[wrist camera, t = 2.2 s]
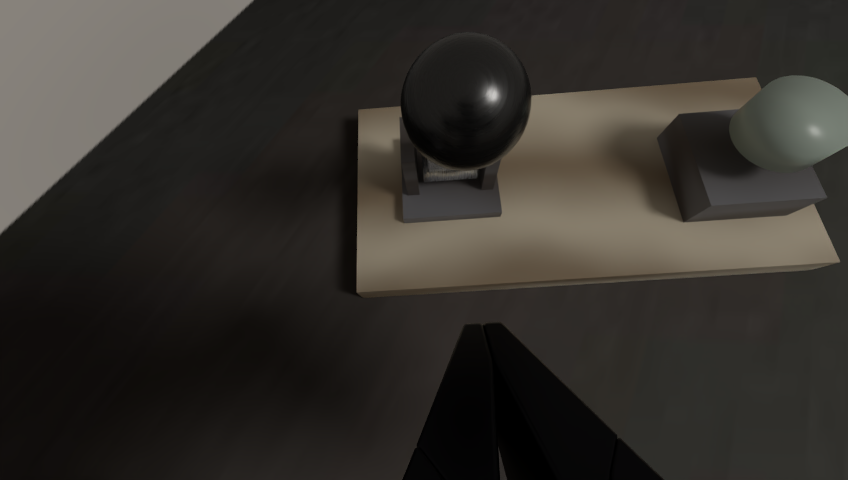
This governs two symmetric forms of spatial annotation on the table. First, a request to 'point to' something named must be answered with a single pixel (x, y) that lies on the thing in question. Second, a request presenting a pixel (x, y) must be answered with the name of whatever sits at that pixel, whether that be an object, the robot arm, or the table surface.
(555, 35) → the table surface
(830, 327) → the table surface
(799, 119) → the push button
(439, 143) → the toggle lever
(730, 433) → the table surface
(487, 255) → the switch board
